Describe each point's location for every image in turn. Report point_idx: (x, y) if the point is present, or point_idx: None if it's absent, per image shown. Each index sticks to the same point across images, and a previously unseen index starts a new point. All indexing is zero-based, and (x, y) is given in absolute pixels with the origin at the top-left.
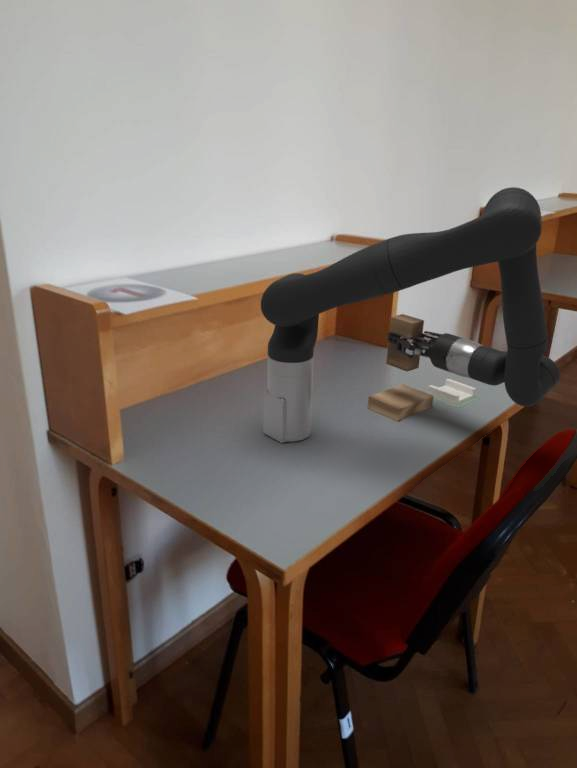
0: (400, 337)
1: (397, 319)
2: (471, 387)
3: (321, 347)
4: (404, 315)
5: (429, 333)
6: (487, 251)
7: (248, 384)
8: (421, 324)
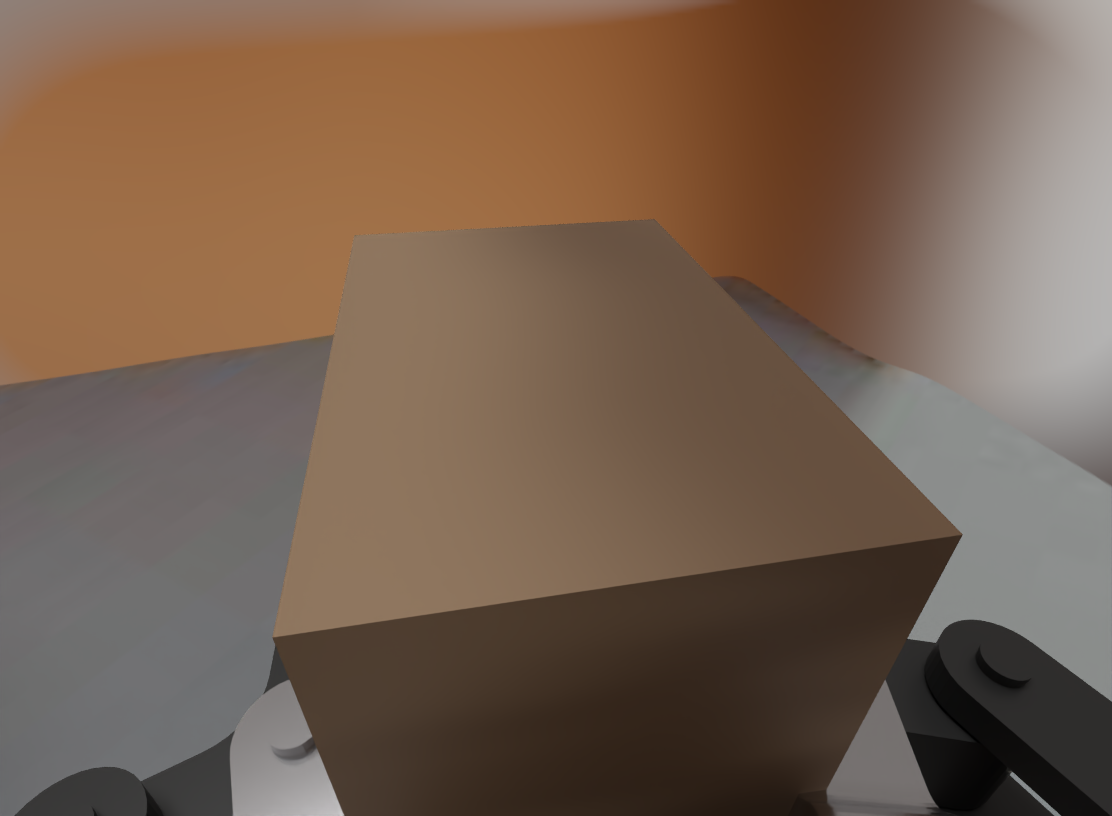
0: (242, 720)
1: (345, 310)
2: None
3: None
4: (636, 247)
5: (1051, 765)
6: None
7: (194, 418)
8: (819, 630)
